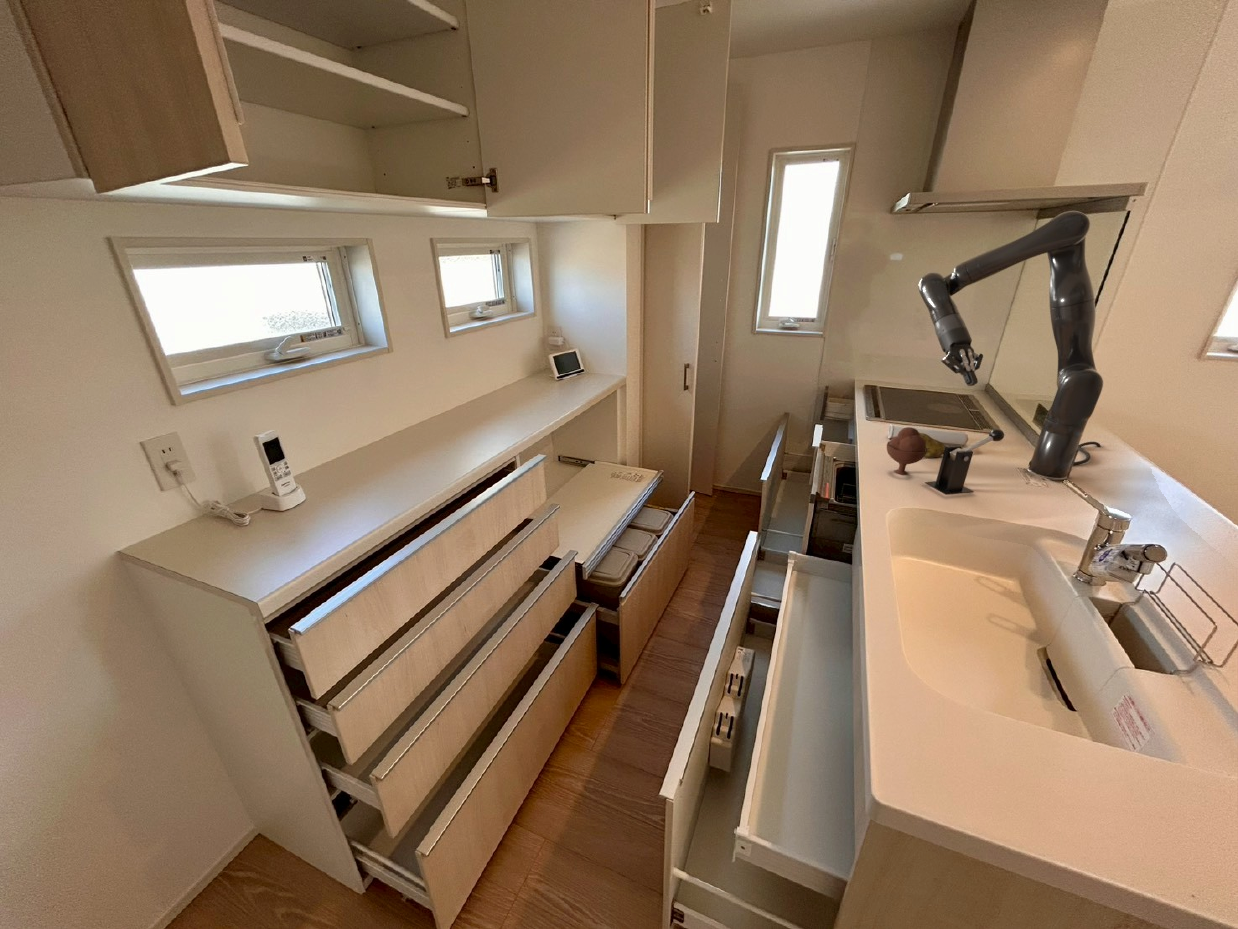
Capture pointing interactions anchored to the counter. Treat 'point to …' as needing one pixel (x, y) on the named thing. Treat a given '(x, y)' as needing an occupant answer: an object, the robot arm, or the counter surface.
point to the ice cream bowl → (906, 448)
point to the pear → (933, 446)
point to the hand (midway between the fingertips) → (972, 384)
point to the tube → (935, 435)
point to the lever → (981, 442)
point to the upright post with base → (953, 472)
